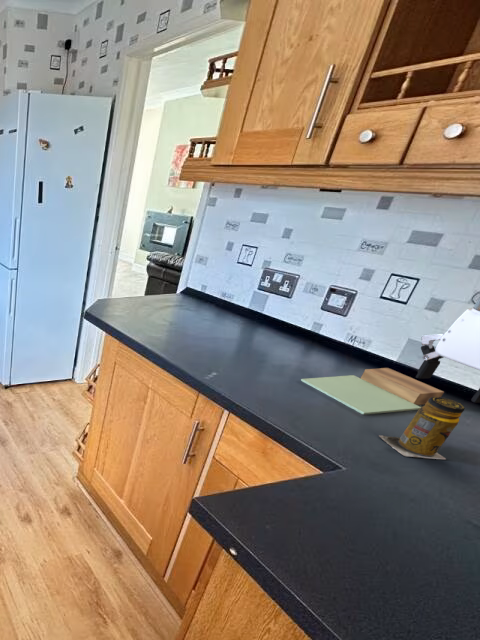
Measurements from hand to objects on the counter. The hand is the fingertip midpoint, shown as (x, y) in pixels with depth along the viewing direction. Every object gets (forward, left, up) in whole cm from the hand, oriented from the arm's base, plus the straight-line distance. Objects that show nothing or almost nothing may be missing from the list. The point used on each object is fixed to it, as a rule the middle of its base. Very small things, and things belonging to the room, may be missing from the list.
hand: (449, 389), depth 84 cm
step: (-25, -22, -15) cm, 37 cm away
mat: (-12, -22, -15) cm, 29 cm away
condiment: (0, 0, -15) cm, 15 cm away
